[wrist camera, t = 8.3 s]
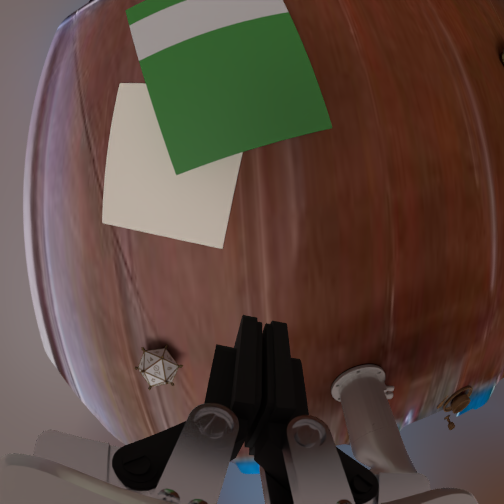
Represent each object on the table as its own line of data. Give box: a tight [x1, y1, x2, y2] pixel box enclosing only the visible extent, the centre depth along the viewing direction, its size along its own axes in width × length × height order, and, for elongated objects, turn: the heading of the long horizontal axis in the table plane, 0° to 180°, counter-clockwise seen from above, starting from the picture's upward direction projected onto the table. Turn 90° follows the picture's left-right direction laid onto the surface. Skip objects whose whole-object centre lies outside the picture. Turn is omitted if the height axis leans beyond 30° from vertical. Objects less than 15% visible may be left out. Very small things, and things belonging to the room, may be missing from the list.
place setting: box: [437, 386, 472, 430], centre depth 59 cm, size 18×20×6 cm
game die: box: [134, 345, 183, 390], centre depth 46 cm, size 9×8×10 cm
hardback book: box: [126, 0, 332, 175], centre depth 26 cm, size 18×7×24 cm
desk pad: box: [102, 83, 243, 249], centre depth 35 cm, size 20×22×1 cm
